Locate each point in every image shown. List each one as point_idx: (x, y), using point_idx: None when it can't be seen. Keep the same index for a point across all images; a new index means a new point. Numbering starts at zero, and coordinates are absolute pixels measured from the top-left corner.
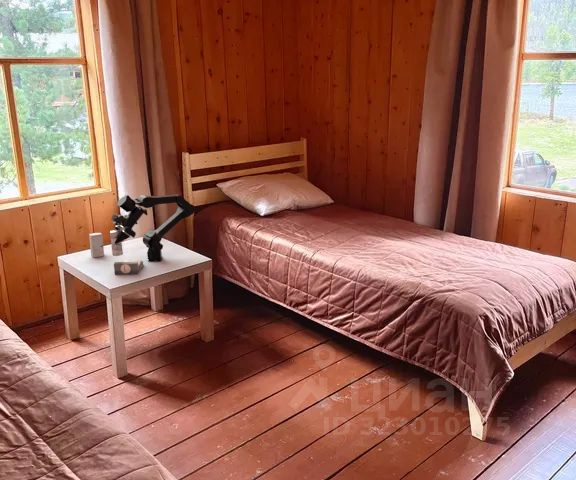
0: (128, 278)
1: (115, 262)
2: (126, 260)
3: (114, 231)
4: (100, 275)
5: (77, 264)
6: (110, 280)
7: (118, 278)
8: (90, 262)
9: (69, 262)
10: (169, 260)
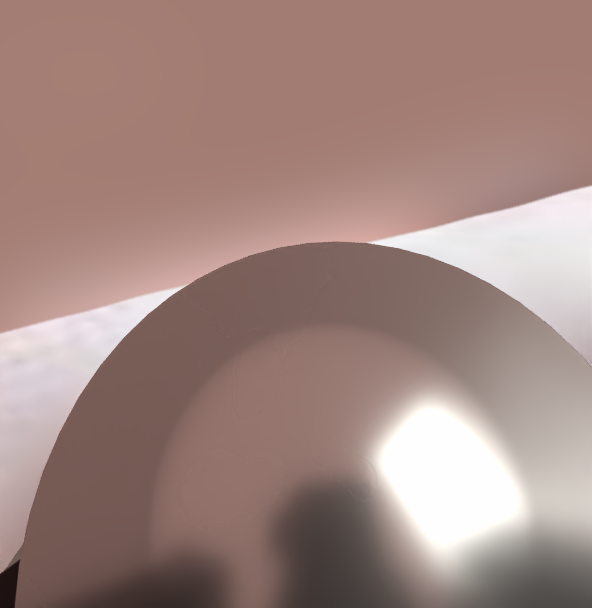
0: (30, 492)
1: None
2: None
3: (313, 446)
4: None
5: (519, 226)
6: (92, 361)
7: None
8: (544, 301)
9: (577, 192)
10: None
